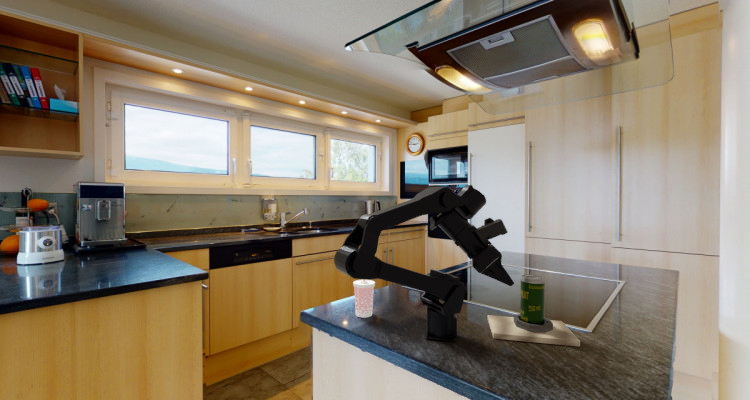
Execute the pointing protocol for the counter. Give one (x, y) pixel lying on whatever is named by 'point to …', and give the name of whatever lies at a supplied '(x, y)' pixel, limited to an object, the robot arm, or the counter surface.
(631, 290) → the counter surface
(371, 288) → the beverage cup
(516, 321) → the board with grey ring
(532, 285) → the beer can
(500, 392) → the counter surface
